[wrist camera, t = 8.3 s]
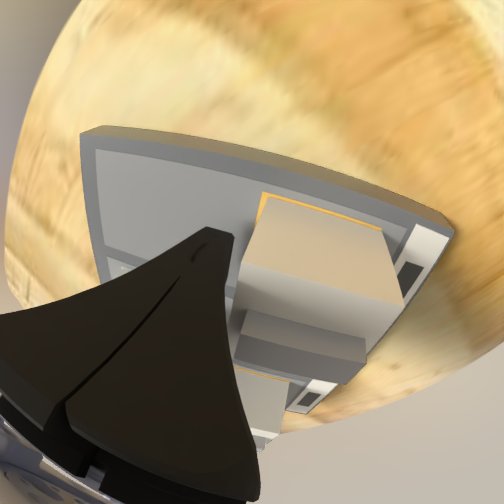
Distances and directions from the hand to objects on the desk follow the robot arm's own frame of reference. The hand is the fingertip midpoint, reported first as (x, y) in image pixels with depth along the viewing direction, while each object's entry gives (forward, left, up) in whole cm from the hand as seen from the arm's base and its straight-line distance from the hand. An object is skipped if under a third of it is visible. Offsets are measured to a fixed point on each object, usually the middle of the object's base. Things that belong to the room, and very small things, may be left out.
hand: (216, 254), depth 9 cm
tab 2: (0, -3, -1) cm, 3 cm away
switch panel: (-5, -1, -3) cm, 6 cm away
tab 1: (-11, -3, -1) cm, 11 cm away
